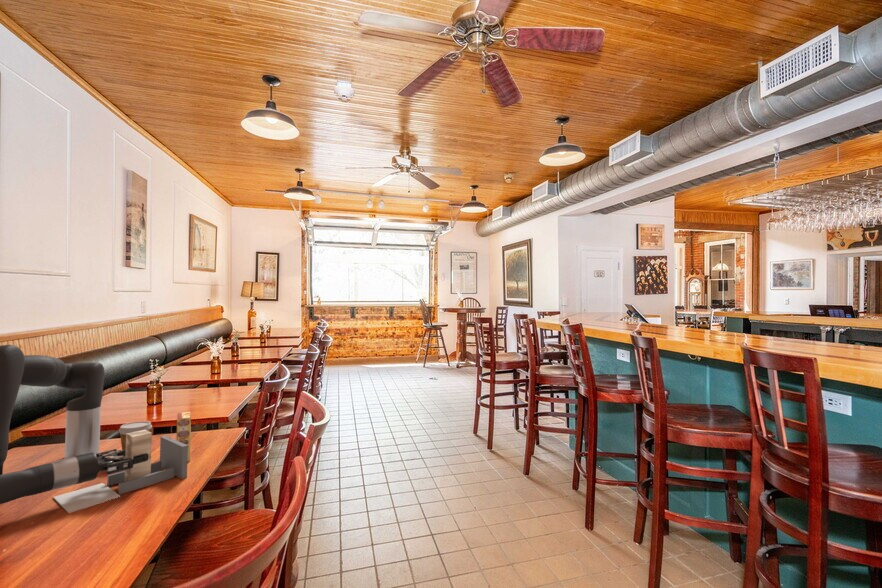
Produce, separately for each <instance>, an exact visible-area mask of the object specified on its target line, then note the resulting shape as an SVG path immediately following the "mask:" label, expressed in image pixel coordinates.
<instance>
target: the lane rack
mask: <svg viewBox="0 0 882 588" xmlns="http://www.w3.org/2000/svg"><path fill="white" fill-rule="evenodd" d="M159 441H160V443H159V446H160V448H159V461H158V460H157V461H156V462H151V474H148V475H145V476H141V477H138V478H134V479H131V480H127V481H125V470H123V471H119V472H115V473H111V474H107V479H106V480H107V481H106V482H107V483H106V486H107V485H108V487H111V486H114V484H115V485H117V483H118V493H119V495H123V494H126V493H129V492H132V491H135V490H139V489H142V488H145V487H149V486H152V485H155V484H158V483H161V481H162V482H164V481H168V480H171V479H174V478H175V477H177V478H179V479H181V480H183V479H186V478H188V461H187V459H188V445H186V444H184V443H181V442H179V441H177V440H176V439H174V438H171V437H170V436H168V435H163V436H160V440H159ZM162 468H163V469H162ZM164 469H165V470H164ZM110 485H111V486H110ZM125 492H126V493H125ZM118 493H117V494H118ZM122 493H123V494H122Z"/></svg>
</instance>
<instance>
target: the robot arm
mask: <svg viewBox="0 0 882 588" xmlns="http://www.w3.org/2000/svg"><path fill="white" fill-rule="evenodd" d="M104 382H105V367H104V365H103V364H102V363H101V362H73V363H72V362H71V363H65V362H64V361H63V360H61V359H59V358H57V357H53V356H48V355H42V354H41V355H40V354H35V355H34V354H33V355H32V354H27V355H26V354H25V355H24V352H23V351H22V349H21V348H20V347H18V346H17V345H13V344H4V345H0V505H2V504H6V503H9V502H12V501H15V500H18V499H21V498H25V497H30V496H34V495H35V496H36V495H39V494H43V493H46V492H50V491H54V490H61V489H64V488H68V487H71V486H76V485H79V484H82V483H86V482H90V481H94V480H96V479H97V477H98V474H99V473H100V472H106V474H107V475H111V474H114V473H118V472H122V471H125V470H127V469H131V468H133V464H137V463H141V462H145V461H147V460H148V454H147V453H145V454H141V455H137V456H133V457H125V451H126V449H125V450H122V449H117V448H114V449H111V450H106V451H102V452H100V440H101V439H100V438H101V409H102V408H101V406H102V399H103V395H104V385H105V384H104ZM21 386H30V387H39V388H40V387H41V388H43V387H44V388H45V387H53V386H55V387H56V386H57V387H61V388H64V389H68V390H85V391H84V394H83V395H82V396H80V397H76V398H73V399H70V400H69V401H67V403H66V413H65V414H66V416H65V437H64V438H65V442H64V458H61V459H58V460H56V461H52V462H48V463H44V464H40V465H36V466H31V467H28V468H25V469H23V470H18V471H13V472H8V473H3V471H4V470H3V469H4V463H5V462H6V459H7V456H8V448H9V438H10V437H9V436H10V435H9V434H10V426H11V420H12V416H13V415H12V414H13V412H14V408H15V404H16V402H17V398H18V394H19V391H20V387H21ZM127 462H128V464H125V463H127Z"/></svg>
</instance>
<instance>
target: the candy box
mask: <svg viewBox="0 0 882 588" xmlns="http://www.w3.org/2000/svg"><path fill="white" fill-rule="evenodd" d="M176 414H177V417H176V439H175V440H177V441H179V442H181V443H184V444H186V445H188V459H187V462H190V461H191V442H192V441H191V440H192V439H191V437H192V436H191V435H192V426H191V425H192V421H191V420H192V419H191V418H192V417H191V416H192V415H191V411H187V412H186V411H184V412H178V413H176Z"/></svg>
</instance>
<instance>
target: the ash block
mask: <svg viewBox="0 0 882 588" xmlns="http://www.w3.org/2000/svg"><path fill="white" fill-rule="evenodd" d="M152 438H153V432H151V431H150V432H149V431H147V430H141V431H137V432H132V433H127V434H126V451H125V457H133V456H137V455H141V454H145V453H147V454H148V460H147V461H145V462H141V463H137V464H133V468H131V469H127V470H124V471H125V481H127V480H131V479H134V478H138V477H141V476H145V475H148V474H151V463H152V445H153V443H152V441H153V439H152ZM125 464H128V462H127V463H125Z"/></svg>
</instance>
